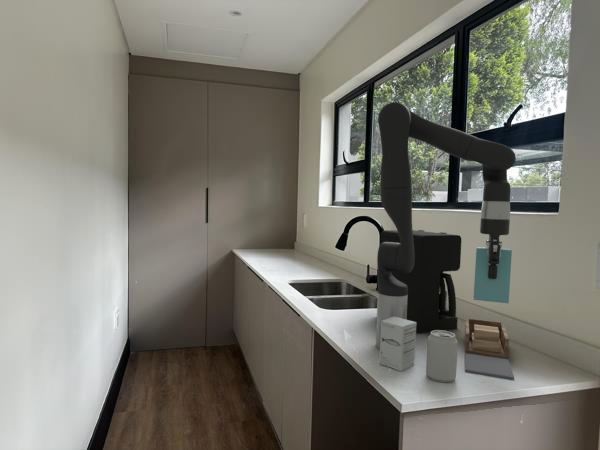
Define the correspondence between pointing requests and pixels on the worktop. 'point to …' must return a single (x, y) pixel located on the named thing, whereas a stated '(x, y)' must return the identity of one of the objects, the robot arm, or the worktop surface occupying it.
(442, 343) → the can
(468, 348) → the walnut rack
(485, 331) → the upper offcut
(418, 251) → the coffee maker
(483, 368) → the charcoal mat
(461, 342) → the worktop surface
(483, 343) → the lower offcut
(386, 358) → the supplement box
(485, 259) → the teal board
